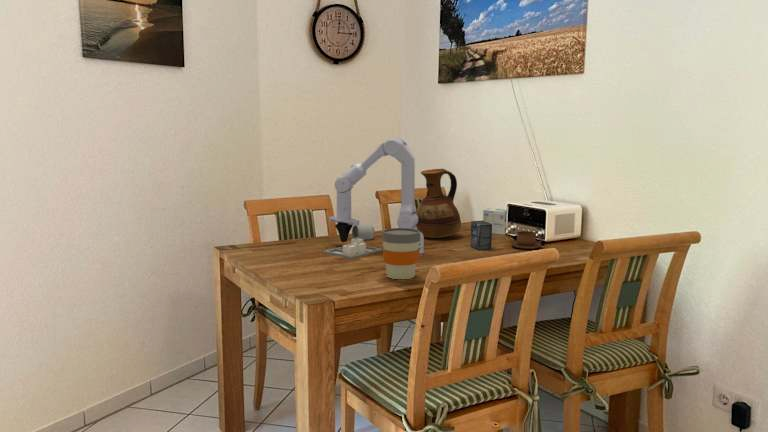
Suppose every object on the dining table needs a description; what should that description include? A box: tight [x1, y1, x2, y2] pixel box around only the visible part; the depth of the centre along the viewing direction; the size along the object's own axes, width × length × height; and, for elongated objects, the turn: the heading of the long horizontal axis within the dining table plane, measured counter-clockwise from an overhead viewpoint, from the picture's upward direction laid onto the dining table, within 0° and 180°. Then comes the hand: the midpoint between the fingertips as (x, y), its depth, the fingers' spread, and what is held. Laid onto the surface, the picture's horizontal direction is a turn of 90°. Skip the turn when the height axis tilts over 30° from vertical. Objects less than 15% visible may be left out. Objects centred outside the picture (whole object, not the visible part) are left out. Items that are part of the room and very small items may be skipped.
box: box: [470, 220, 493, 251], centre depth 238 cm, size 8×6×11 cm
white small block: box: [350, 237, 365, 245], centre depth 232 cm, size 4×3×4 cm
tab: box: [342, 242, 356, 256], centre depth 220 cm, size 4×3×4 cm
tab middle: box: [353, 241, 367, 253], centre depth 224 cm, size 4×3×4 cm
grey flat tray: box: [323, 245, 383, 260], centre depth 226 cm, size 14×18×2 cm
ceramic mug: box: [351, 223, 376, 241], centre depth 252 cm, size 10×8×7 cm
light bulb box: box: [482, 207, 508, 236], centre depth 272 cm, size 11×7×11 cm, turn 58°
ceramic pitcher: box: [416, 168, 462, 239], centre depth 261 cm, size 20×20×30 cm
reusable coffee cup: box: [381, 227, 420, 280], centre depth 194 cm, size 13×13×15 cm
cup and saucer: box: [510, 230, 543, 250], centre depth 241 cm, size 12×12×6 cm
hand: (344, 241), depth 236 cm, fingers closed
